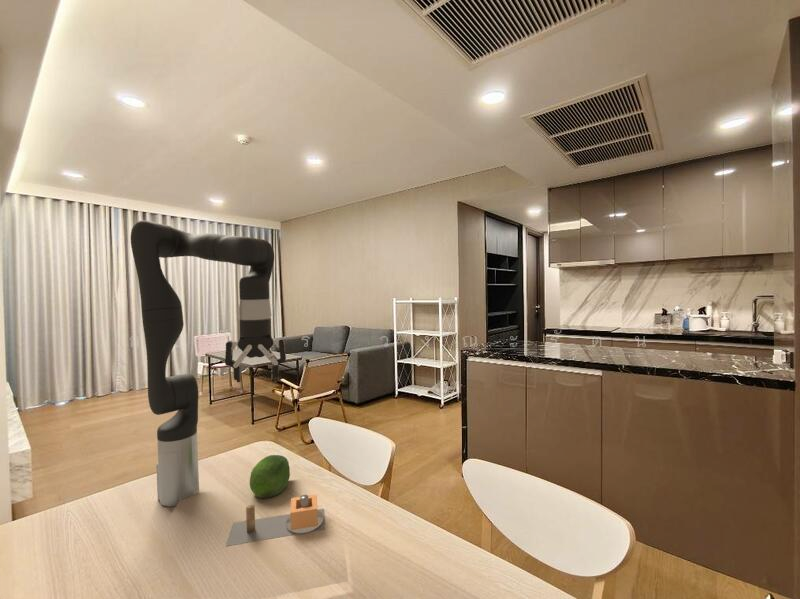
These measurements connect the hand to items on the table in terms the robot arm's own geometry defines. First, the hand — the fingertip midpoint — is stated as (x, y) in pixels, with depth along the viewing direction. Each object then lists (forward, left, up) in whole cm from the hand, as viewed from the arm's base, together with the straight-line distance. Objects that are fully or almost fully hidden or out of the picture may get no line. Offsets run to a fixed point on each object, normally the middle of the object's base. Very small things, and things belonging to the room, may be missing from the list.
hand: (257, 380), depth 94 cm
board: (+11, -7, -33) cm, 36 cm away
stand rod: (+6, -10, -32) cm, 34 cm away
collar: (+16, -3, -31) cm, 35 cm away
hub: (+16, -3, -32) cm, 36 cm away
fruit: (-2, +7, -33) cm, 34 cm away
